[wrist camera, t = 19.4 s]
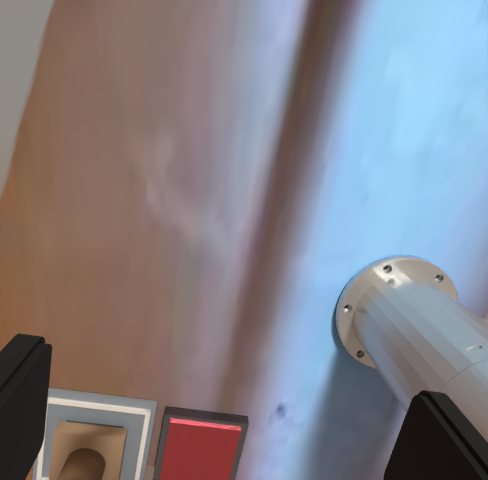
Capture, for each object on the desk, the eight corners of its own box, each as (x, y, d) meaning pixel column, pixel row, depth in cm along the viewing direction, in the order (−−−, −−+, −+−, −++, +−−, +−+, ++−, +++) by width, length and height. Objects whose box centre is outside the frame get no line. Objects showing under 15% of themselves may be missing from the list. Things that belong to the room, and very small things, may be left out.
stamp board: (157, 401, 43) (156, 404, 42) (140, 495, 46) (140, 499, 46) (40, 386, 41) (38, 389, 41) (32, 485, 45) (30, 489, 44)
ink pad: (247, 416, 44) (248, 426, 43) (226, 500, 47) (227, 512, 46) (166, 406, 43) (164, 416, 42) (150, 493, 46) (148, 504, 45)
